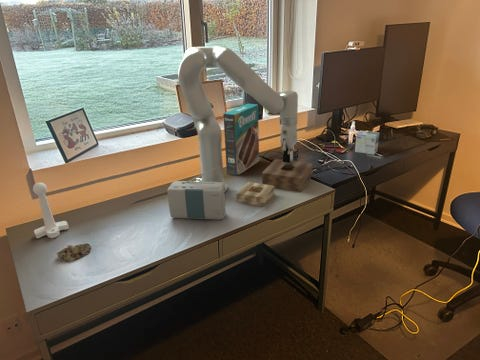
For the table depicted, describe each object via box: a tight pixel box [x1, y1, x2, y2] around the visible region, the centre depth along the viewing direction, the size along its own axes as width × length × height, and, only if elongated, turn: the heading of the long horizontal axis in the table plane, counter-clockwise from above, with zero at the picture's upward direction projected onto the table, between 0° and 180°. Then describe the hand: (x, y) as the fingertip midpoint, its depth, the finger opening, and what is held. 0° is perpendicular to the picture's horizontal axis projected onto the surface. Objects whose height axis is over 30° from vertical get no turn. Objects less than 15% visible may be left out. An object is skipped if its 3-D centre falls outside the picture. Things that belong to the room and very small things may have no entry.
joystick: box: [32, 181, 70, 239], centre depth 133 cm, size 11×8×20 cm
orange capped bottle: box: [284, 146, 294, 168], centre depth 167 cm, size 4×4×11 cm
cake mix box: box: [222, 103, 260, 177], centre depth 184 cm, size 22×6×30 cm, turn 148°
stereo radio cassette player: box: [167, 167, 226, 221], centre depth 142 cm, size 21×8×20 cm, turn 82°
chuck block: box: [261, 158, 313, 193], centre depth 171 cm, size 18×18×6 cm
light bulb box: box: [354, 130, 380, 155], centre depth 202 cm, size 11×7×11 cm, turn 58°
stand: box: [236, 181, 275, 207], centre depth 157 cm, size 12×12×4 cm
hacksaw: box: [312, 157, 347, 174], centre depth 188 cm, size 24×10×2 cm, turn 122°
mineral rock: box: [55, 242, 92, 263], centre depth 124 cm, size 11×4×8 cm
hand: (288, 159), depth 168 cm, fingers closed on orange capped bottle, 4 cm apart
